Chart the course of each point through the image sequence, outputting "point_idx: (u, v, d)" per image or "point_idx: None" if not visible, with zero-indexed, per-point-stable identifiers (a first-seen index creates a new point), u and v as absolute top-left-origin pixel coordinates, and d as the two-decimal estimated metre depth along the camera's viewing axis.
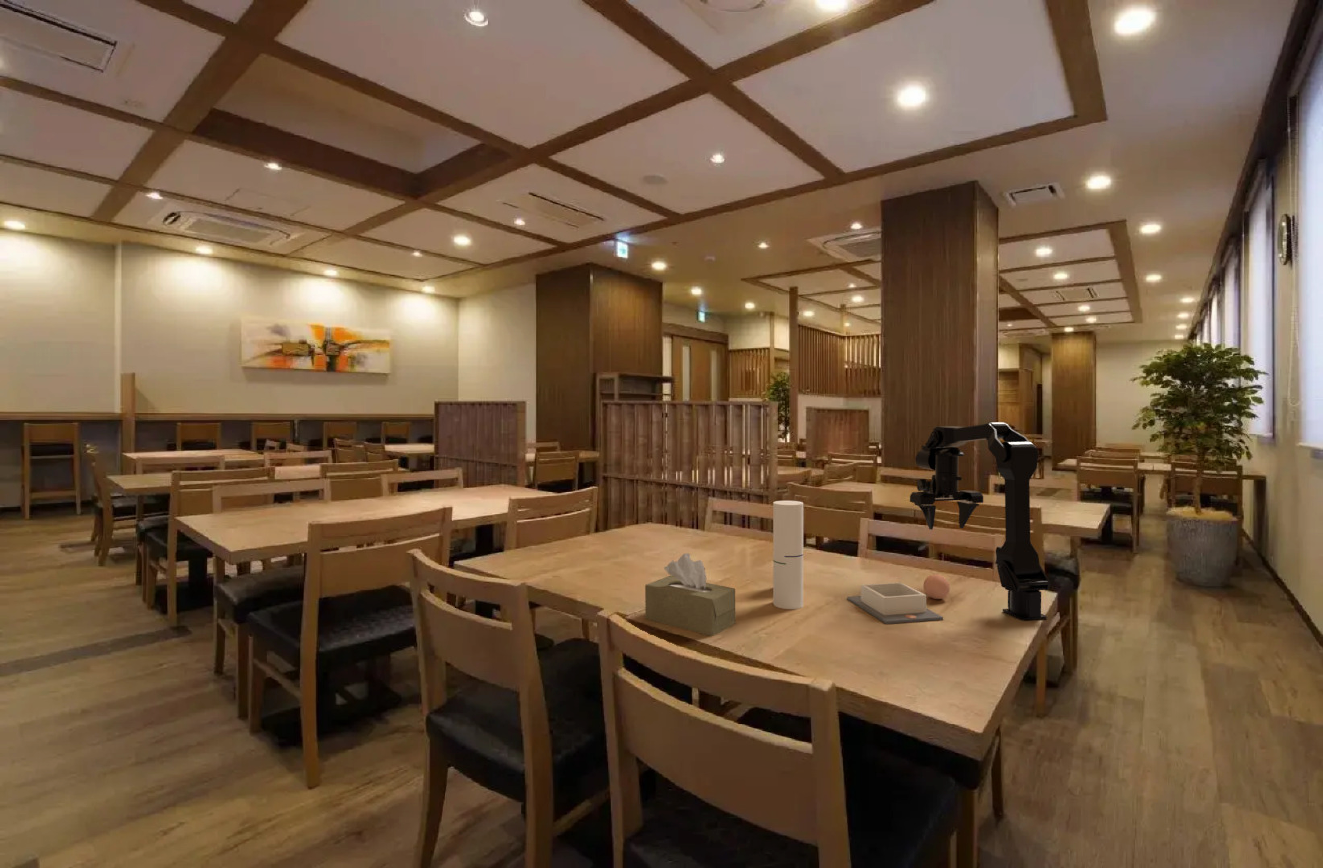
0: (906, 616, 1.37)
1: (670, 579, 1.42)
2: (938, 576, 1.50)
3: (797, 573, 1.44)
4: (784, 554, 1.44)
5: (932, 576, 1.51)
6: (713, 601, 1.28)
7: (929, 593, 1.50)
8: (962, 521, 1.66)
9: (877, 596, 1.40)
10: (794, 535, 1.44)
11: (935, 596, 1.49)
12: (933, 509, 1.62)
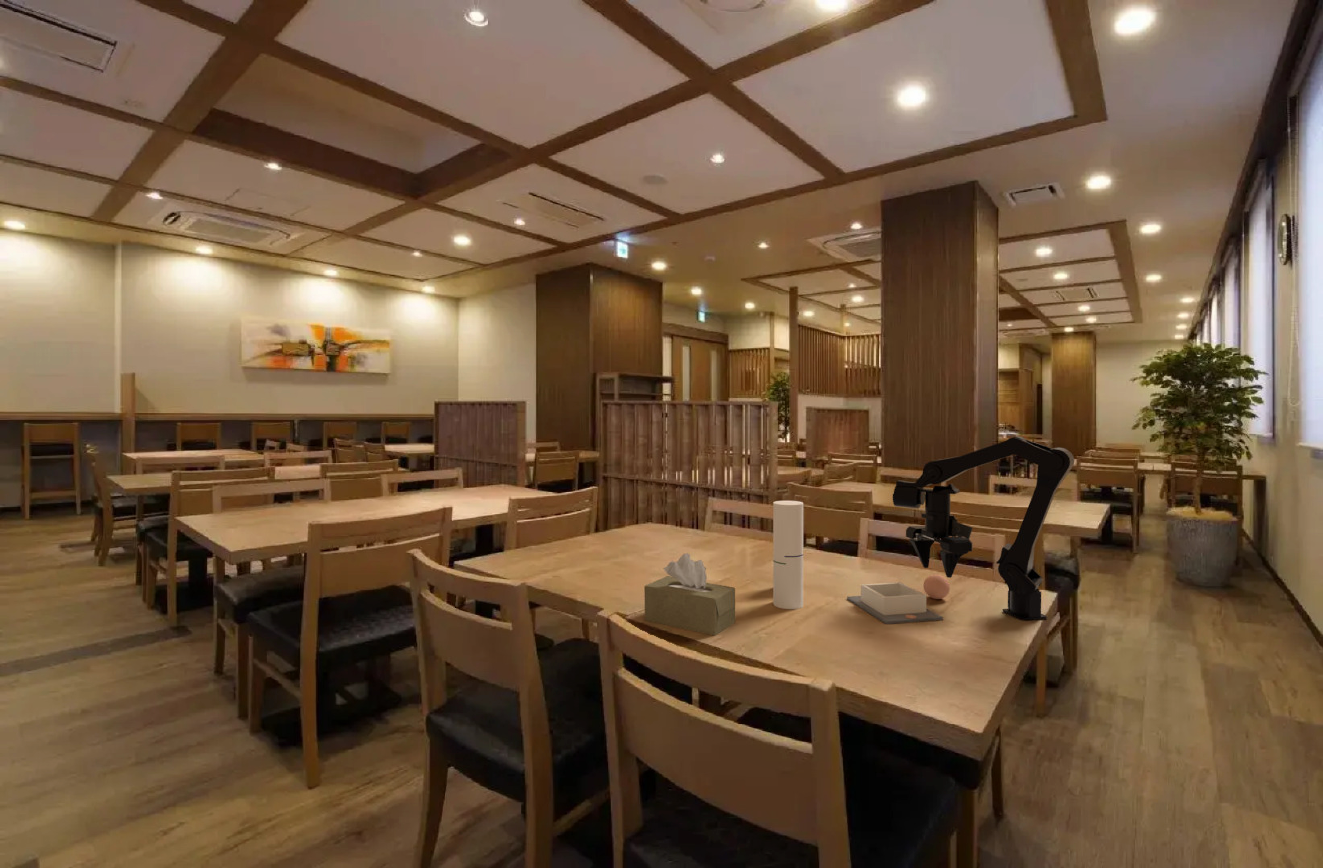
0: (906, 616, 1.37)
1: (668, 579, 1.42)
2: (938, 576, 1.50)
3: (797, 573, 1.44)
4: (784, 554, 1.44)
5: (932, 576, 1.51)
6: (715, 601, 1.28)
7: (929, 593, 1.50)
8: None
9: (877, 596, 1.40)
10: (794, 535, 1.44)
11: (935, 596, 1.49)
12: (914, 544, 1.56)
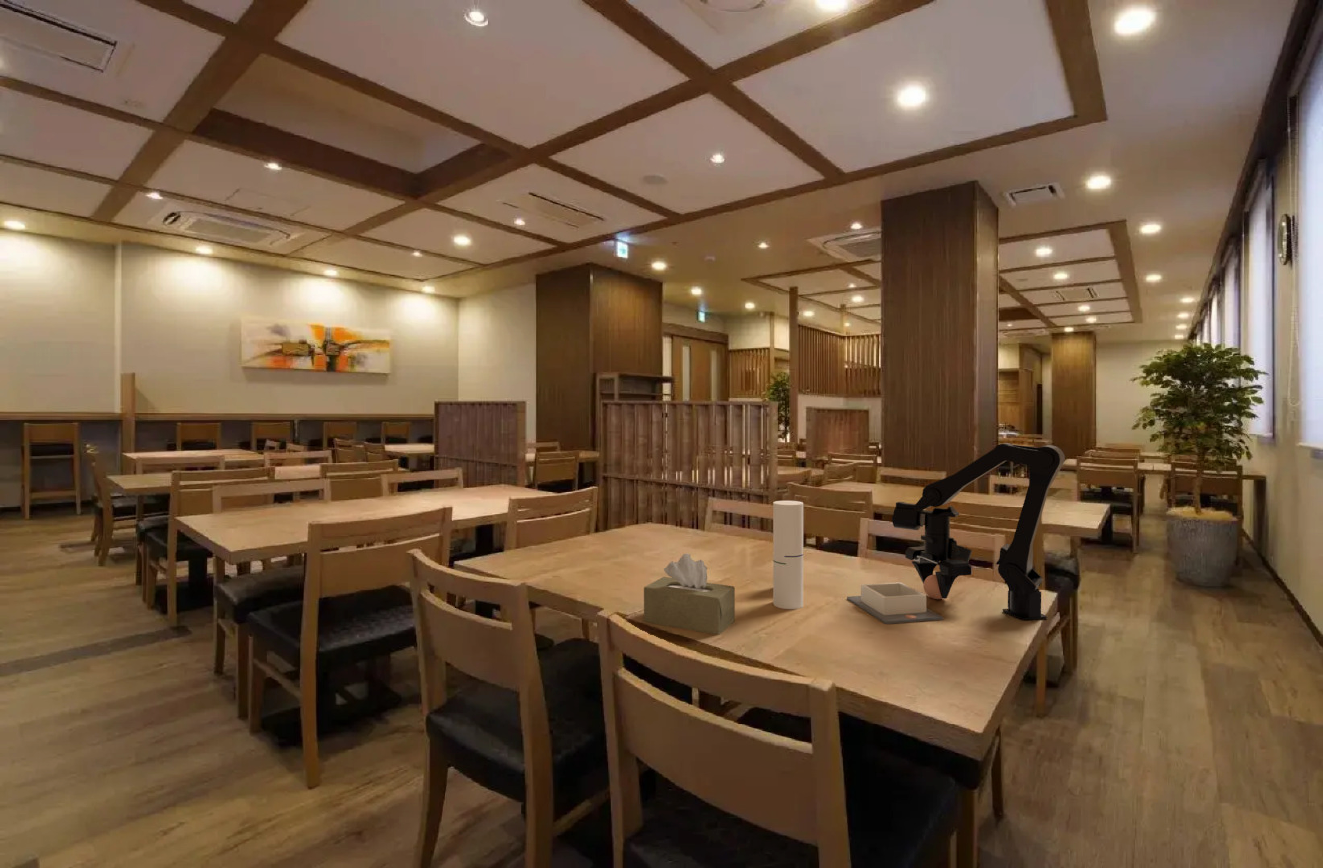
0: (906, 616, 1.37)
1: (665, 580, 1.41)
2: None
3: (797, 573, 1.44)
4: (784, 554, 1.44)
5: (932, 576, 1.51)
6: (719, 600, 1.28)
7: (929, 593, 1.50)
8: None
9: (877, 596, 1.40)
10: (794, 535, 1.44)
11: (935, 596, 1.49)
12: (916, 567, 1.55)
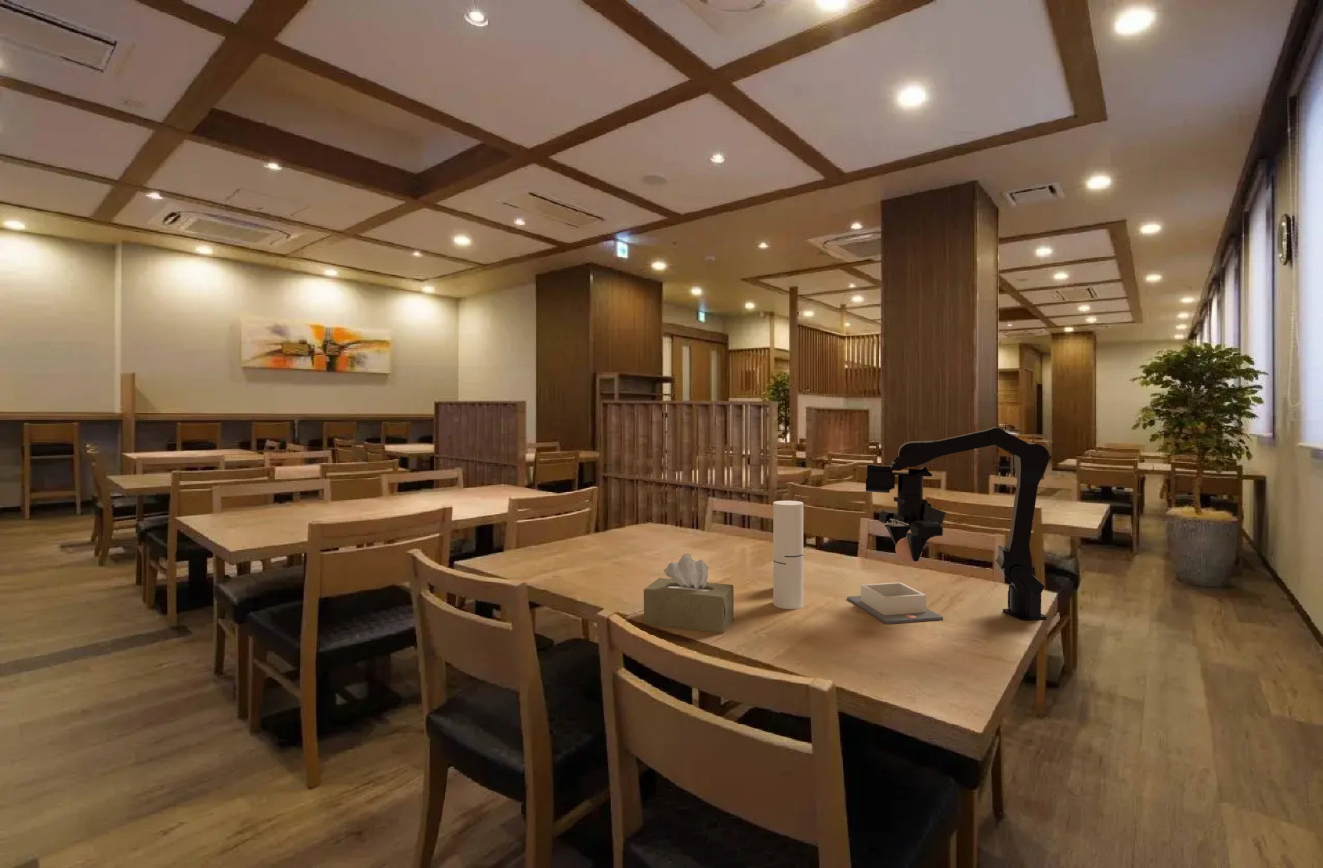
0: (906, 616, 1.37)
1: (662, 581, 1.41)
2: None
3: (797, 573, 1.44)
4: (784, 554, 1.44)
5: (904, 539, 1.46)
6: (723, 599, 1.29)
7: (900, 556, 1.45)
8: None
9: (877, 596, 1.40)
10: (794, 535, 1.44)
11: (906, 559, 1.45)
12: (889, 530, 1.50)
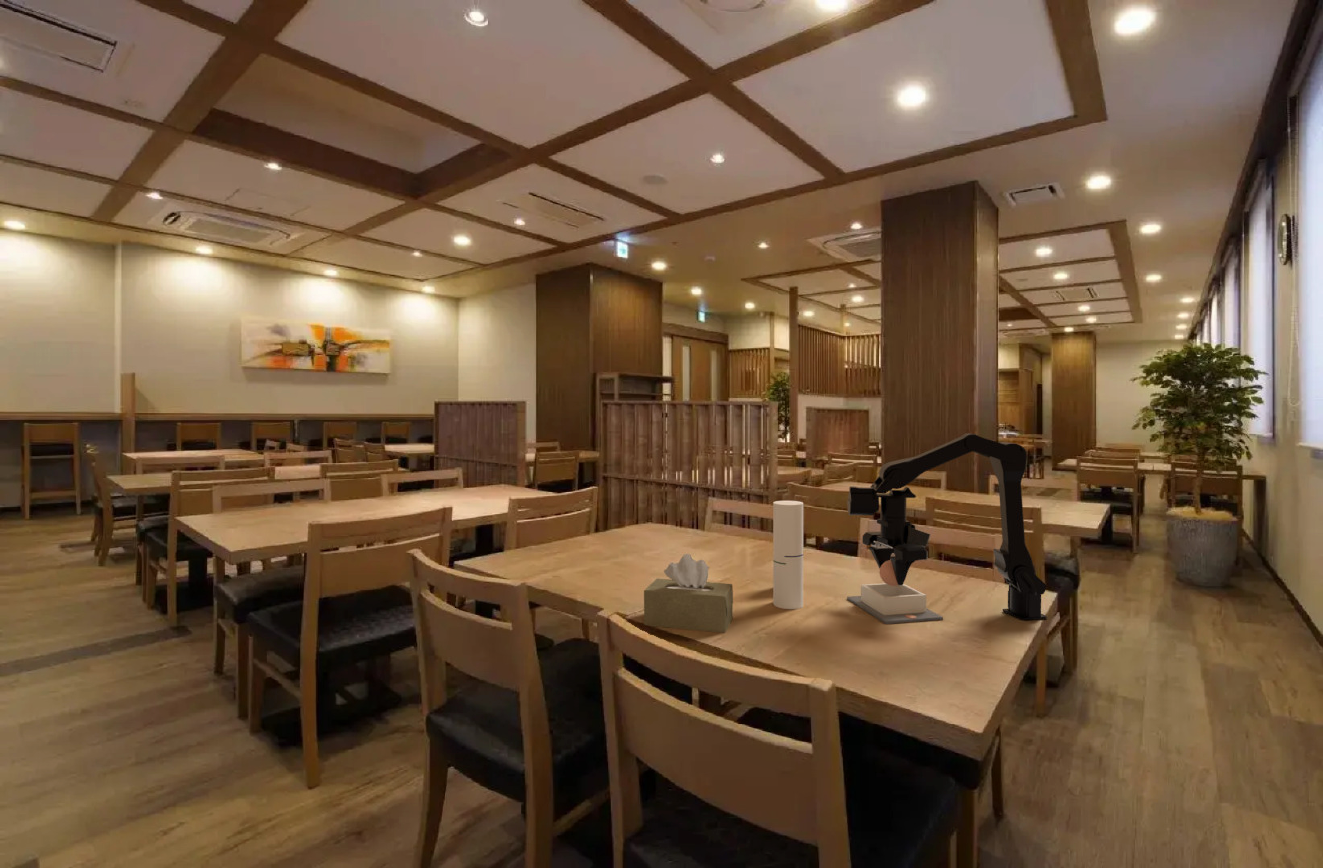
0: (906, 616, 1.37)
1: (661, 582, 1.40)
2: None
3: (797, 573, 1.44)
4: (784, 554, 1.44)
5: (888, 562, 1.43)
6: (725, 598, 1.29)
7: (885, 579, 1.42)
8: None
9: (877, 596, 1.40)
10: (794, 535, 1.44)
11: (891, 583, 1.42)
12: (873, 552, 1.47)
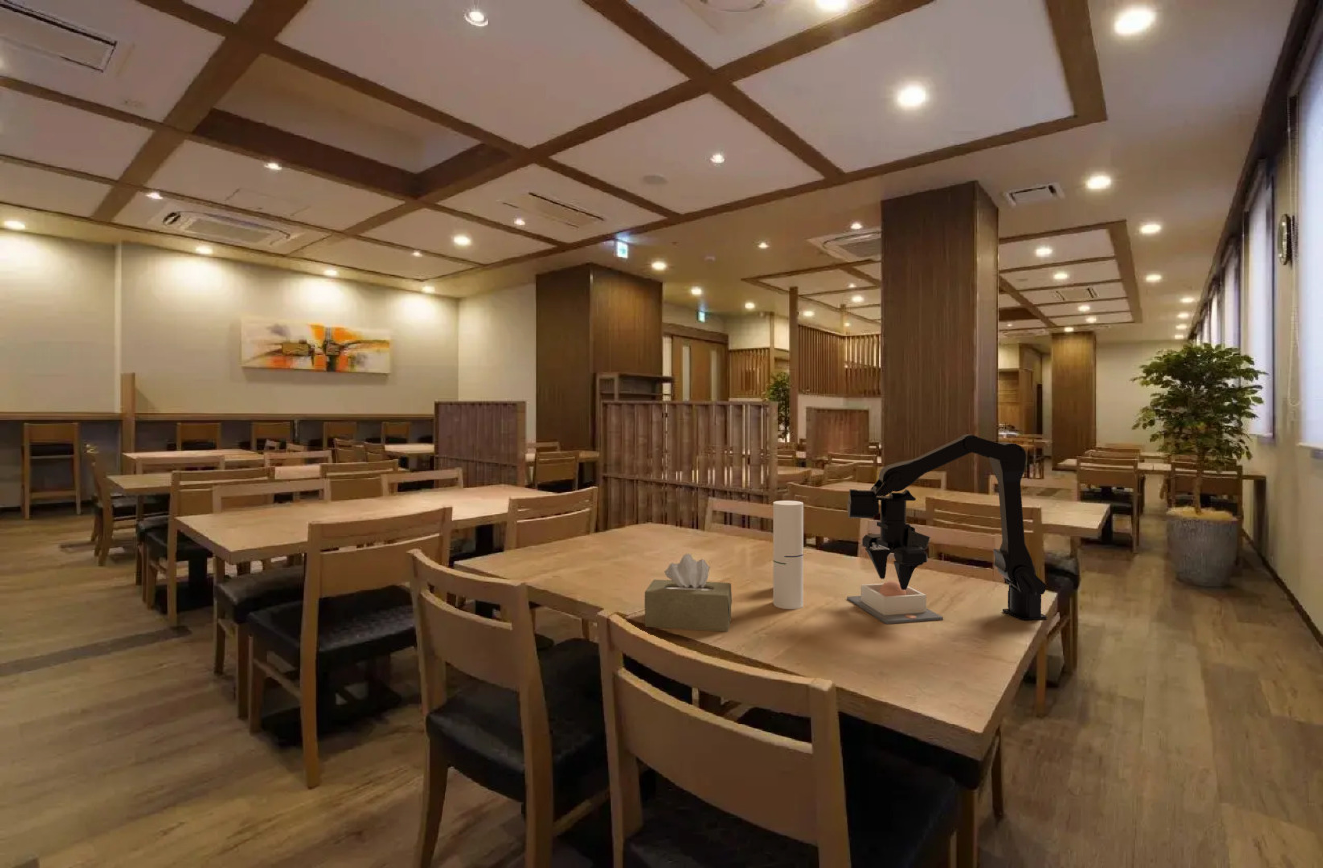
0: (906, 616, 1.37)
1: (659, 582, 1.39)
2: (894, 583, 1.43)
3: (797, 573, 1.44)
4: (784, 554, 1.44)
5: (888, 583, 1.43)
6: (727, 597, 1.30)
7: None
8: None
9: (877, 596, 1.40)
10: (794, 535, 1.44)
11: None
12: (870, 554, 1.49)
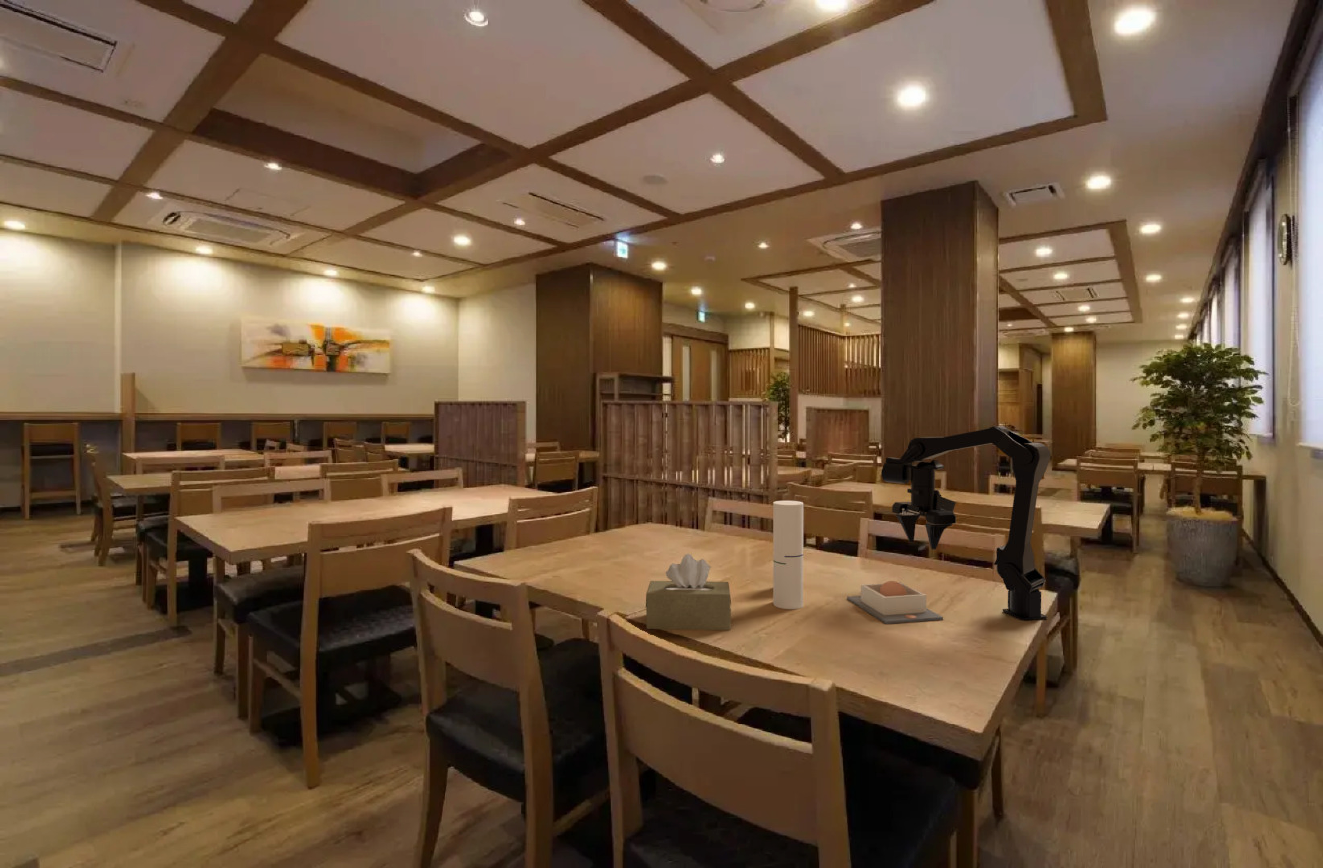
0: (906, 616, 1.37)
1: (658, 584, 1.39)
2: (894, 583, 1.43)
3: (797, 573, 1.44)
4: (784, 554, 1.44)
5: (888, 583, 1.43)
6: None
7: None
8: None
9: (877, 596, 1.40)
10: (794, 535, 1.44)
11: None
12: (900, 519, 1.62)
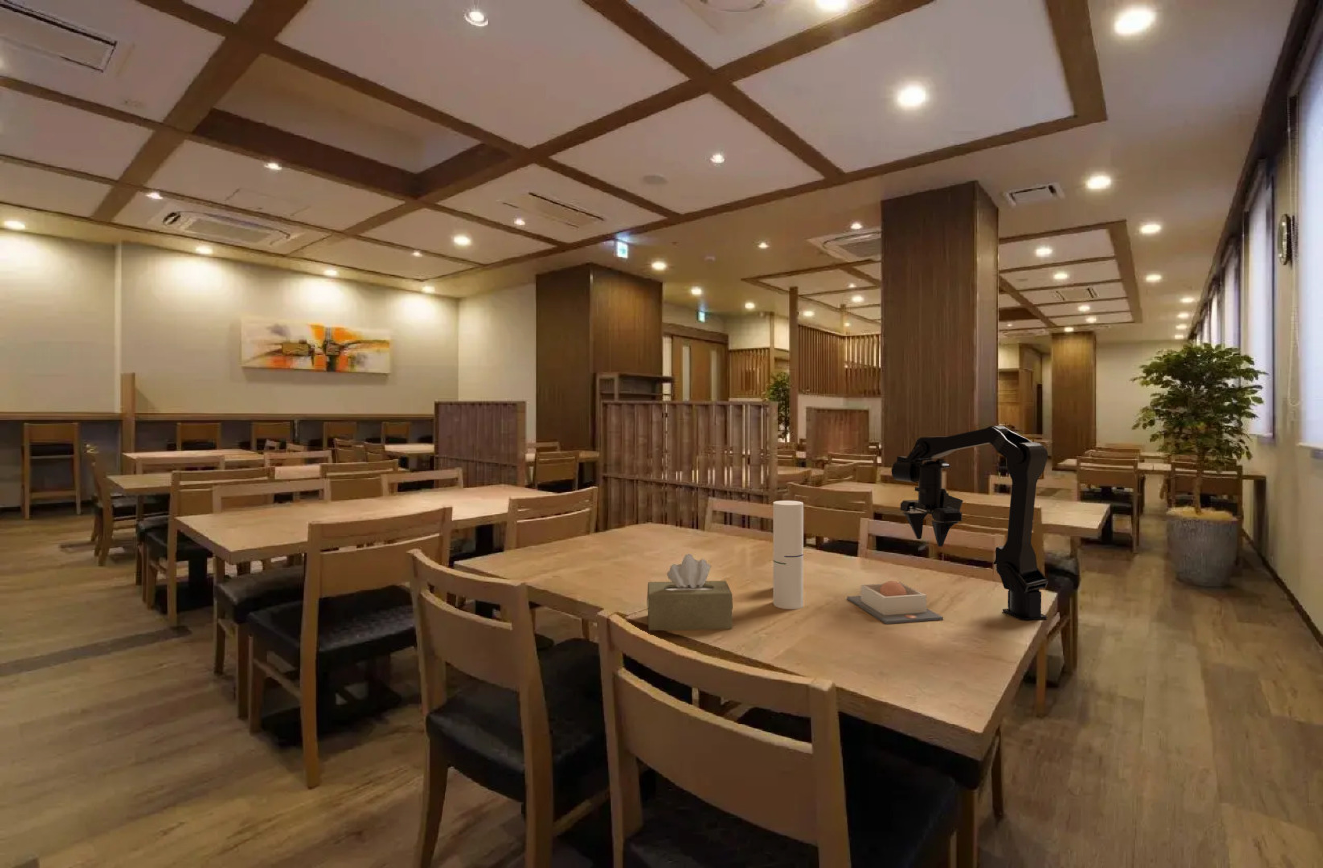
0: (906, 616, 1.37)
1: (657, 585, 1.38)
2: (895, 583, 1.42)
3: (797, 573, 1.44)
4: (784, 554, 1.44)
5: (888, 583, 1.43)
6: (731, 595, 1.32)
7: None
8: None
9: (877, 596, 1.40)
10: (794, 535, 1.44)
11: None
12: (907, 517, 1.65)
